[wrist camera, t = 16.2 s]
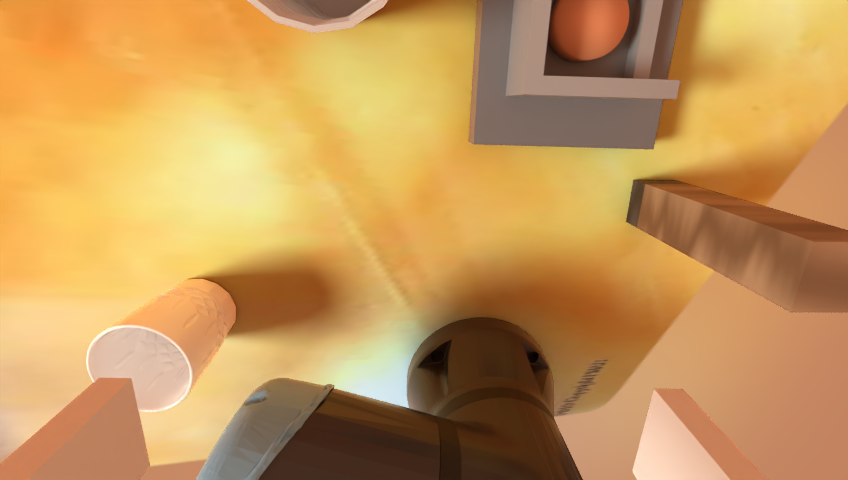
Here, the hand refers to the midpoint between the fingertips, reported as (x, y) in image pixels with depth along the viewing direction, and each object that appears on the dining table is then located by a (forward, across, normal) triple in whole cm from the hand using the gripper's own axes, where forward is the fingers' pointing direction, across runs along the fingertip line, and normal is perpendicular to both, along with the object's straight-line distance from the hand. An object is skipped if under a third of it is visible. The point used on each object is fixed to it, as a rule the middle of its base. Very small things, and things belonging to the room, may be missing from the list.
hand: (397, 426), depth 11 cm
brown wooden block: (+29, -23, 0) cm, 37 cm away
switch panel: (+29, -12, -14) cm, 34 cm away
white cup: (+29, +20, +12) cm, 37 cm away
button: (+26, -13, -14) cm, 32 cm away
